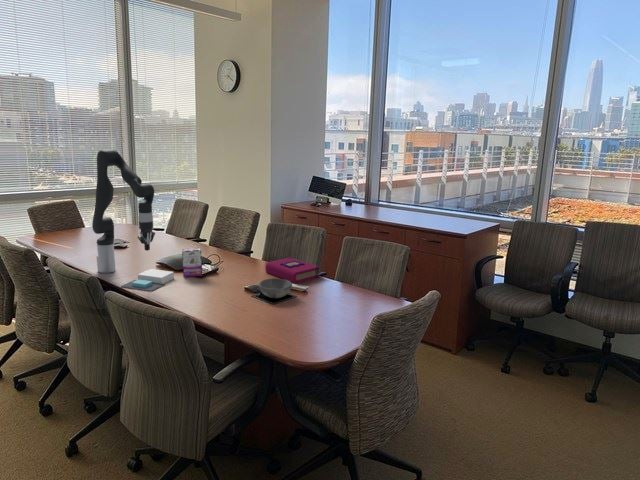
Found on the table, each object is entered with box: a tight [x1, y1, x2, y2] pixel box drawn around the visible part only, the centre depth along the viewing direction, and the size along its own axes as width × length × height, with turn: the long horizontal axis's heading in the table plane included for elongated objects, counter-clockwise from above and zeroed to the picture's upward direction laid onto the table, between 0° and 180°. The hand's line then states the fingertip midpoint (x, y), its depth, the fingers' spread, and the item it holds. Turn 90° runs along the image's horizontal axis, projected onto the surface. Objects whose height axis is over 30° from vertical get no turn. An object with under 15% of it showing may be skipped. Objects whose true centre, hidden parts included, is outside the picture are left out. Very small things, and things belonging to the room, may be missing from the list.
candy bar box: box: [181, 247, 203, 278], centre depth 288 cm, size 11×5×16 cm, turn 105°
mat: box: [120, 279, 166, 292], centre depth 268 cm, size 20×12×1 cm, turn 73°
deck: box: [137, 268, 175, 284], centre depth 279 cm, size 16×12×4 cm
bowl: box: [258, 277, 293, 299], centre depth 258 cm, size 18×18×8 cm
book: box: [264, 257, 320, 284], centre depth 296 cm, size 21×28×8 cm
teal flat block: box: [132, 279, 153, 288], centre depth 267 cm, size 9×6×2 cm, turn 73°
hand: (147, 250), depth 270 cm, fingers closed
